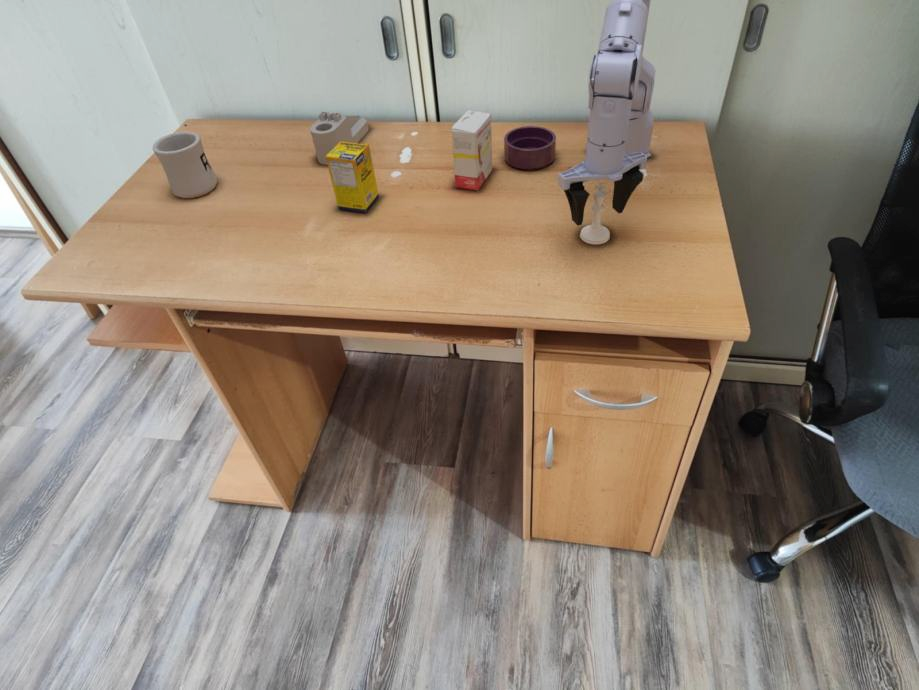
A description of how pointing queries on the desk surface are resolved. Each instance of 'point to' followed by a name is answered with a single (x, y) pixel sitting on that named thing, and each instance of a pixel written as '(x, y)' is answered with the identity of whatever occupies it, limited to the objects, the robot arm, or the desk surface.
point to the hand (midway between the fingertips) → (597, 216)
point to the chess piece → (596, 221)
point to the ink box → (472, 149)
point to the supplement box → (352, 176)
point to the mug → (185, 164)
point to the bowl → (529, 147)
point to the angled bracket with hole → (336, 132)
